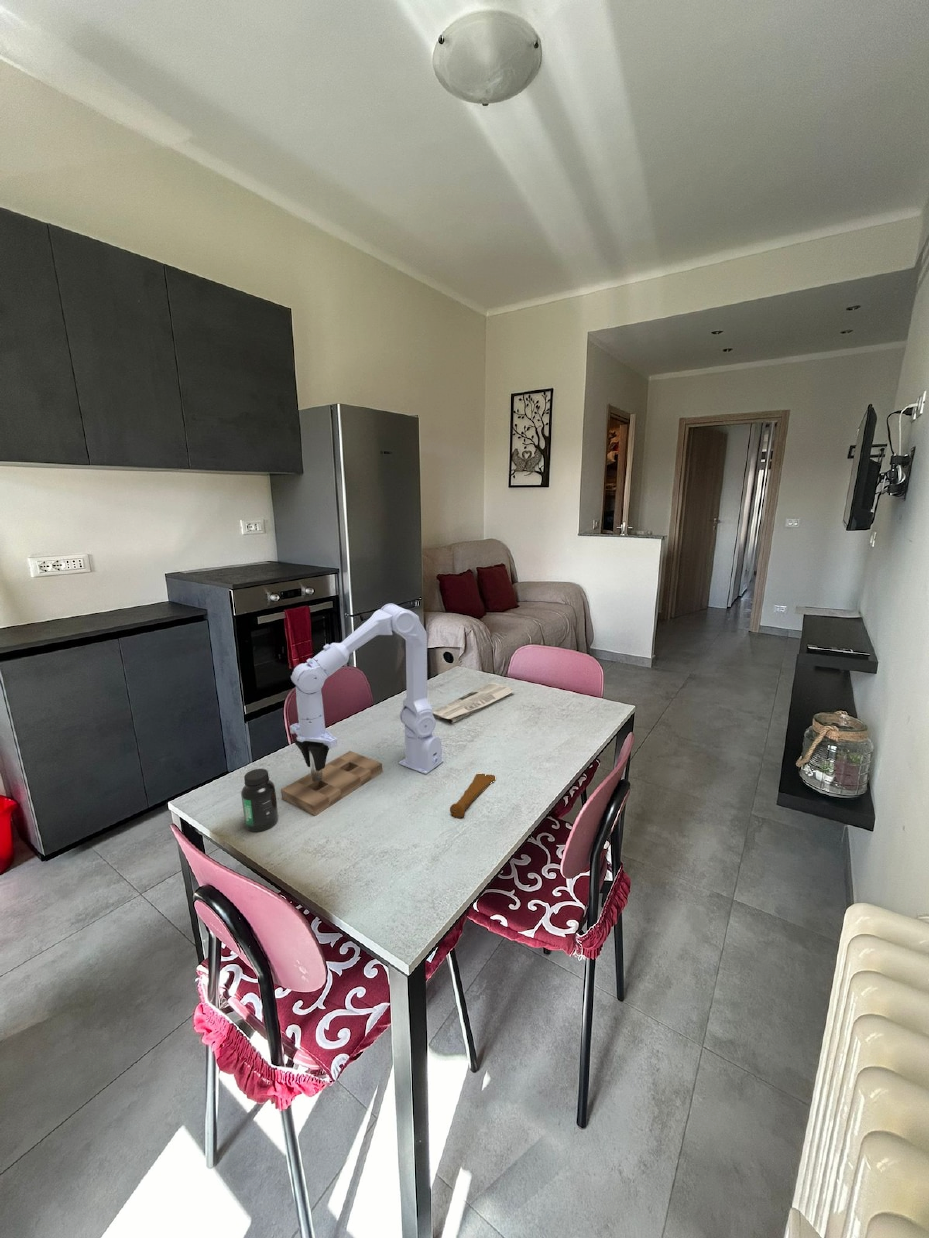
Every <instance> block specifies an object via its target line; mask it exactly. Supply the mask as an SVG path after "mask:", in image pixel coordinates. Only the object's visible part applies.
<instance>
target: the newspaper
mask: <svg viewBox="0 0 929 1238" xmlns="http://www.w3.org/2000/svg"><path fill="white" fill-rule="evenodd" d="M514 692H515V691H514V690H513V689H512V687H510V686H507V685H503V684H501V683H497V682H489V683H487V684H484V685H482V686H481V687H479V688H477V689H475V690H474V691H471V692H469V693H467V694H465V695H463V696H461V697H459V698H457V699H455V700H453V701H451V702H449V703H447V704H444V705H443V706H441V707H440V708H437V709H435V710H434V711H433V716H434V718H435V719H436V718H437V719H439V720H440V719H442V718H443V719H447V720H451V722H450V724H454V723H456V722H457V721H459V720H461V719H463V718H465V717H467V716H468V715H471V714H473V713H475V712H477V711H479V710H480V709H482V708H484V707H485V706H488V705H490V704H492V703H494V702H496V701H499V700H500V699H502V698H504V697H506V696H508V695H510V694H511V693H514Z"/></svg>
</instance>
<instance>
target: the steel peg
mask: <svg viewBox="0 0 929 1238" xmlns="http://www.w3.org/2000/svg"><path fill="white" fill-rule="evenodd" d="M309 758H310V767H309V768H310V773H311V778H312V781H313V782H319V781H321V780H322V779H323V773H322V769H321V770H320V771H316V769H315V765H314V759H313V756H312V754H311V752H310V750H309Z"/></svg>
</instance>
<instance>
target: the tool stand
mask: <svg viewBox="0 0 929 1238" xmlns="http://www.w3.org/2000/svg"><path fill="white" fill-rule="evenodd" d="M383 772H384V771H383V763H382V762H381V761H378V760H377V761H376V760H375V759H373V758H369V757H367V756H364V755H362V754H359V753H356V752H355V751H351V750H349V751H346V752H345V753H343V754H342V755H340V756H338V757H337V758H334V759H333V760H331V761H329V762H327V763H325V768H323V769H322V773H323V779H322V780H321V781H319V782H313V781H312V778H311V772H309V773H308V774H306V775H304V776H302V777H301V778H299V779H298V780H295V781H294V782H292V783H290V784H289V785H286V786H285V787H283V788H281V789H280V793H281V794H280V796H281V799H282V800H283V801H285V802H286V803H287V802H288V803H290V804H291V805H293V806H295V807H297V808H299V809H301V810H303V811H304V812H307V813H308V814H310V815H312V816H314V817H315V816H318V814H320V813H322V812H323V811H324V810H327V809H329V808H330V807H331V806H333V805H334V804H336V803H337V802H339V801H340V800H342V799H343V798H346V797H347V796H348V795H350V794H351V793H353V792H354V791H356V790H357V789H358V788H360V787H361V786H364V785H365V784H366V783H368V782H370V781H371V780H372V779H374V778H376V777H377V776H378V775H380V774H382V773H383Z"/></svg>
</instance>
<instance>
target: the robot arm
mask: <svg viewBox="0 0 929 1238" xmlns="http://www.w3.org/2000/svg"><path fill="white" fill-rule="evenodd" d="M419 616H420V615H417V614H416V613H415V612H413V611H412V610H410V609H406V608H403V607H402V606H399V605H397V604H396V603H386V604H385V605H383V606H382V607H381V608H380V609H377V610H376V611H374V612H373V614H372V615H371V616H370V618H368V619H367V620H366V621H365V622H364V623H362V624H361V625H360V626H359V627H357V628H356V629H355V630H354V631H353V632H352V633H350V634H349V635H348V636H347V637H346V638H345V639H344V640H342V641H341V642H332V643H330V644H329V643H326V644H325V645H323V647H322V648H323V649H322V650H321V651H320V652H318V653H317V654H316V655H315V656H314V657H312V658H310V657H309V658H308V659H306V662H305V663H299V664H297V665H296V667H294V668H293V671H292V674H291V675H290V680H291V682H292V683H293V684H294V685H295V693H296V694H295V695H296V698H295V699H296V711H297V718H298V719H297V720H298V723H297V722H296V723H292V724H291V725H290V726H289V731H290V734H292V735H295V734H296V740H295V741H294V743H295V745H296V747H297V748H298V749H299V751H300V753H301V754H302V756H303V759H304V761H305V764H306V766H307V768H310V758H309V750H310V752H311V754H312V756H313V759H314V765H315V769H316V771H320V770H321V769H323V768H325V765H326V764H327V763H326V762H327V757H328V754H329V751H330V750H332V749H334V748H336V747H337V746H338V738H337V737H335V736H334V735H333V734H332V733H331V732H330V731H328V730H327V728H326V724H325V723H326V722H325V713H324V711H325V710H324V702H323V701H324V700H323V695H322V688H324V687H323V686H324V684H325V681H326V680H327V679H328V678H329V677H331V676H332V675H333V674H334V673H336V672H337V671H338V670H340V669H341V668H342V667H343V666H345V665H346V664H347V663H349V661H350V654H352V653H354V652H355V651H356V650H358V649H359V648H361V647H362V646H364V645H365V644H366V643H367V642H370V641H371V640H373V639H374V638H375V637H377V636H393V632H395V633H396V634H397V635H399V636H400V637H402V638H403V639H404V640H405V667H406V668H405V671H406V672H405V673H406V697H405V698H404V699H403V700H402V707H401V710H400V713H399V720H400V722H401V724H403V725H404V731H403V732H404V750H405V757H404V758H403V759H402V760H400V761H399V762H398V765H401V766H403V767H406V768H409V769H411V770H413V771H417V772H419V773H421V774H425V775H427V774H428V773H430V772H431V771H433V770H434V769H435V768H436V767H437V766H439V765H440V764H443V762H444V761H445V759H443V757H442V756H443V755H442V754H443V753H442V752H443V751H442V748H443V747H442V740H441V738H440V737H439V736H437V735H435V734H434V731H435V728H436V724H437V721H436V717H434V716H433V710H434V709H433V708H432V705H431V703H430V702H429V699H428V634H427V631H426V629H425V627H424V626H423V625H422V622H421V620H420V617H419ZM392 631H393V632H392Z"/></svg>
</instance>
